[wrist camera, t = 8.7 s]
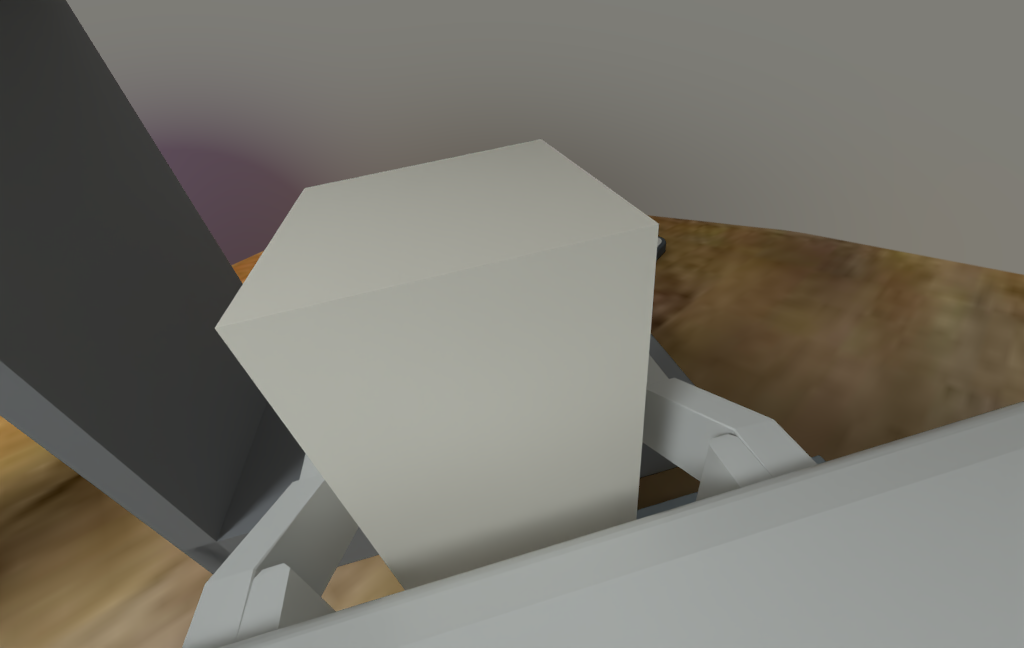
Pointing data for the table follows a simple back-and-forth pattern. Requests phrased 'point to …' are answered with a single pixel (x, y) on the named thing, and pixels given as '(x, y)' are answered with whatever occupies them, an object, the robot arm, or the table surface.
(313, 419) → the block
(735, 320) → the table surface
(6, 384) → the grey c-shaped bracket
